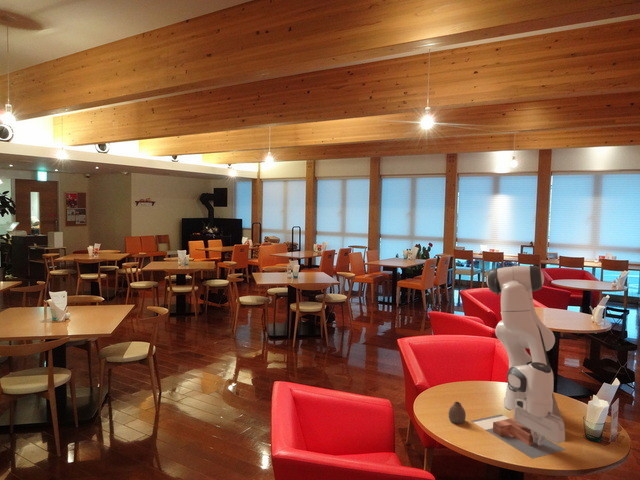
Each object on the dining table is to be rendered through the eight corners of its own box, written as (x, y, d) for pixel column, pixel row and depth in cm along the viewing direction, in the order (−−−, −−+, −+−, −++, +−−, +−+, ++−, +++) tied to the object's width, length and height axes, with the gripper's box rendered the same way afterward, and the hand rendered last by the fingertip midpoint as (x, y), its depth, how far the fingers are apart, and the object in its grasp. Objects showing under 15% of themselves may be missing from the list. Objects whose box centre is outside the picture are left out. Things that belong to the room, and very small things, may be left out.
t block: (518, 426, 188) (519, 416, 187) (545, 440, 176) (546, 430, 176) (492, 431, 182) (493, 422, 182) (518, 447, 170) (519, 437, 170)
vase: (466, 428, 187) (467, 407, 187) (448, 426, 189) (449, 405, 188) (464, 420, 194) (465, 400, 193) (447, 418, 195) (448, 398, 195)
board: (501, 416, 198) (501, 414, 198) (565, 452, 170) (566, 449, 170) (470, 423, 192) (470, 420, 192) (532, 461, 163) (532, 458, 163)
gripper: (570, 417, 162) (568, 455, 163) (523, 396, 181) (522, 430, 182) (557, 420, 160) (555, 459, 160) (511, 398, 178) (510, 433, 179)
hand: (537, 443), depth 171 cm, fingers closed
